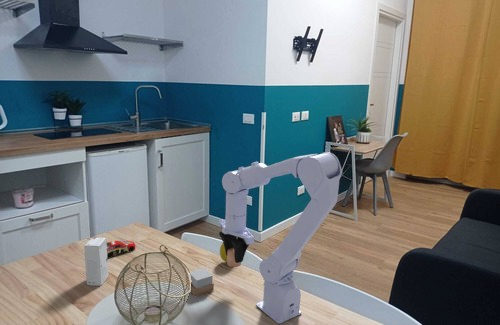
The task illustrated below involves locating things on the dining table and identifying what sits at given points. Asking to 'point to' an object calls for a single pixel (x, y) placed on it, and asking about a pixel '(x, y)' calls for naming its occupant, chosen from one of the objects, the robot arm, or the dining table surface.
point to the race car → (119, 247)
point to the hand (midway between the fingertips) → (234, 258)
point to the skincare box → (96, 261)
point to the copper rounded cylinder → (232, 258)
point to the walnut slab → (201, 289)
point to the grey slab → (201, 278)
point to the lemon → (223, 253)
